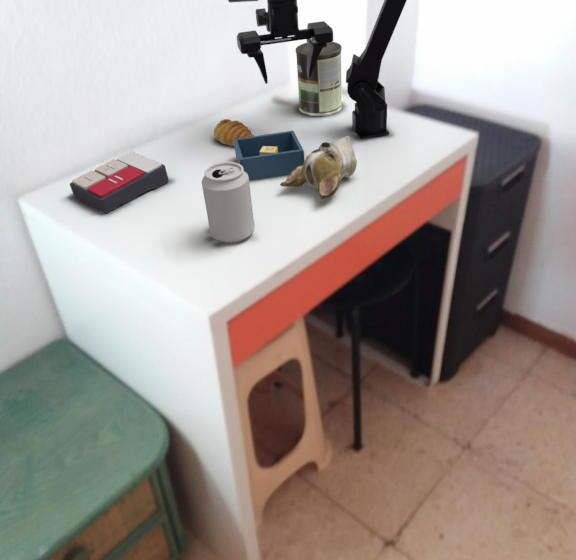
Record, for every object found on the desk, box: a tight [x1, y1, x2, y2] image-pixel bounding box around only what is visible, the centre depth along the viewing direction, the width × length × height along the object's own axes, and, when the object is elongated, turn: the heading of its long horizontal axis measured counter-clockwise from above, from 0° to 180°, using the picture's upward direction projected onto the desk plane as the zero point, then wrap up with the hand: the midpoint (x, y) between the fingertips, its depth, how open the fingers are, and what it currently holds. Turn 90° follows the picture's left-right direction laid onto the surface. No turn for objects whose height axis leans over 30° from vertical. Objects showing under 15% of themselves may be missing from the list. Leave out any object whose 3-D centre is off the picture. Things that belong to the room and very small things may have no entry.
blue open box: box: [233, 130, 305, 181], centre depth 120 cm, size 12×10×5 cm
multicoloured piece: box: [69, 151, 170, 214], centre depth 116 cm, size 11×4×15 cm
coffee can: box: [295, 41, 343, 117], centre depth 139 cm, size 10×10×14 cm
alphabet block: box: [259, 146, 278, 155], centre depth 120 cm, size 3×3×3 cm
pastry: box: [213, 118, 254, 147], centre depth 131 cm, size 9×7×4 cm
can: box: [201, 161, 255, 244], centre depth 98 cm, size 8×8×12 cm
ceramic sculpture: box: [279, 135, 358, 200], centre depth 111 cm, size 11×9×15 cm
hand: (287, 80), depth 126 cm, fingers open, 9 cm apart
